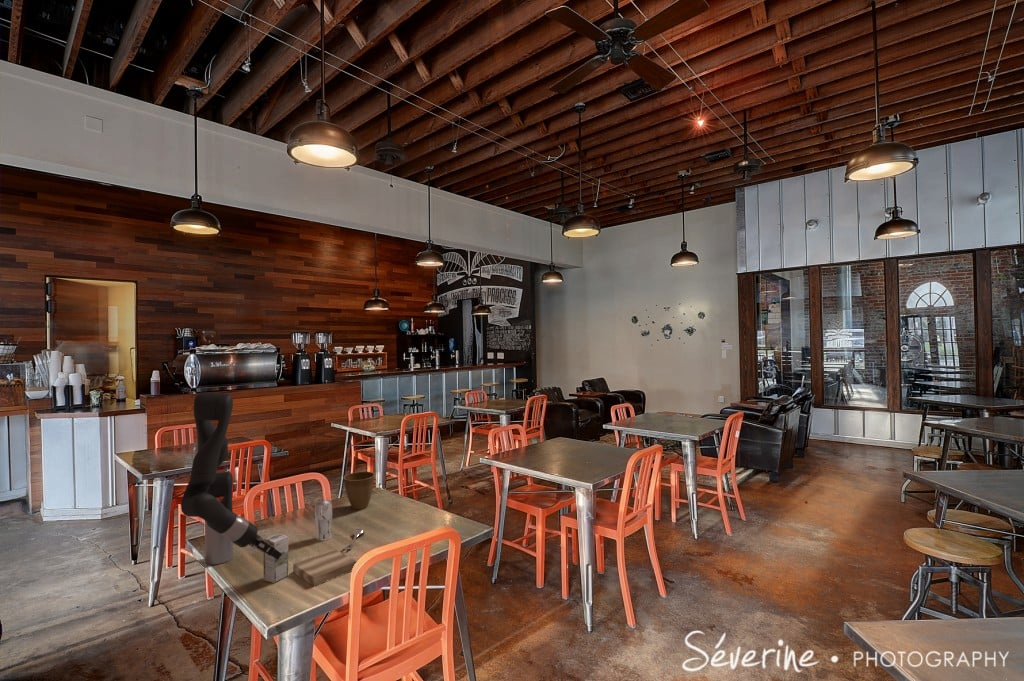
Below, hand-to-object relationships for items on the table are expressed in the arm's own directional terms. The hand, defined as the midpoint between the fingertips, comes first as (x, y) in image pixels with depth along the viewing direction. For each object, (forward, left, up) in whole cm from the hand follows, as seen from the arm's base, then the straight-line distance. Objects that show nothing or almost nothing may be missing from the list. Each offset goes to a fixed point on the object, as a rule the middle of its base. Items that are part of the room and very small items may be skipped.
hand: (274, 553), depth 170 cm
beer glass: (-20, +29, -9) cm, 36 cm away
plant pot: (-42, +59, -9) cm, 73 cm away
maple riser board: (+8, +15, -9) cm, 19 cm away
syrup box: (0, +1, -9) cm, 9 cm away
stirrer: (-7, +35, -10) cm, 36 cm away
